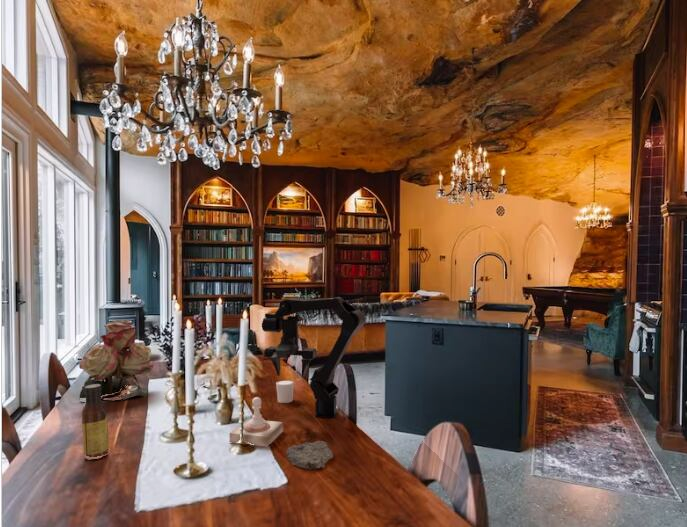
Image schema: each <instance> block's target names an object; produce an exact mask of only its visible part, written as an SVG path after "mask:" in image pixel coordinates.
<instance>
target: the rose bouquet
mask: <svg viewBox="0 0 687 527" xmlns="http://www.w3.org/2000/svg"><path fill="white" fill-rule="evenodd" d="M132 322H133V321H132V320H129V319H126V320H121V319H120V320H118V319H117V320H112V321H111V322H110V323H106V324H104V325H103V327H105V329H107V332H108V333H105V334H103V335H100V338H101V339H102V342H103V344H101V343H98V344H96V345H94V346H93V347H92V348H91V349H90V350H89V351H88V352H87V353H86V354H85V355H84V356H83V357H82V360H80V362H79V369H81V370H83V371H84V372H86V374H88V375H89V376H88V378H87V379H86V380H85V381H84V384H83V386H82V387H81V390H80V394H79V399H80V398H86V393H85V387H86V386H88V385H93V384H100V385H101V396H102V395H105V394H112V393H115V392H119V391H120V389H121V388H123V387H126V386H127V385H128V386H135V387H136V386H137V387H136V388H135V387H134V388H131V389H128V390H127V391H129V392H133V393H130V394H127V393H125V395H121V396H116V397H119V398H120V397H121V398H122V399H123V400H127V399H130V398H133V397H137V396H141V397H143V396H145V397H146V396H148V395H149V393H148V392H147V391H146V389H147V388H148V386H145V387H142V386H140V385H141V384H140V383H139V380H138V378H137V377H136V376H137V375H138V376H139V375H142V376H144V375H147V374H148V373H150V372H152V370H154V362H153V361H150V359H151V358H152V357H151V355H152V350H151V348H150V347H149V346H146V345H145V344H144V343H141V342H135V341H136V339H137V337H138V334H137V333H138V332H136V326H135V325H132ZM134 380H135V381H134ZM125 385H126V386H125ZM123 389H124V388H123ZM123 400H122V401H123Z"/></svg>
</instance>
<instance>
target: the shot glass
mask: <svg viewBox="0 0 687 527" xmlns="http://www.w3.org/2000/svg"><path fill="white" fill-rule="evenodd" d="M294 382H295V381H293V380H279V381H276V382H275V386H276V396H277V402H278V403H280V404H288V403H292V402H293V398H294V386H295V385H294V384H295V383H294Z"/></svg>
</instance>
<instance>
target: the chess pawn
mask: <svg viewBox="0 0 687 527" xmlns="http://www.w3.org/2000/svg"><path fill="white" fill-rule="evenodd" d="M251 404H252V406H251V408H252V409H253V415H252V416H251V417H252V418H250V419H251V420H250V421H249V428H250V429H254V430H257V429H262V428H264V427H265V421H266V420H265V419H264V417H262V416H263V415H262V414H261V411H260V409H262V399H261V398H260V397H258V396H255V397H253V398H252V401H251Z"/></svg>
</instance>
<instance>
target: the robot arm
mask: <svg viewBox="0 0 687 527" xmlns="http://www.w3.org/2000/svg"><path fill="white" fill-rule="evenodd" d="M278 306H279V307H278V308H277V310H276V311H275V313H271V312H267V313H265V314H264V318H263V319H262V322H261V329H262V331H263V332H266V333H278V334H279V333H281V332H282V333H281V335H282V336H281V337H280V343H278V344H277V346H269V347H266V348H265V349H264V350H263V358H267V360H269V361H271V363H272V365H273V367H274V370H275V371H276V375H277V376H278V377H280V376H281V358H283V359H290V358H291V356H298V357H299V356H301V357H302V358H301V360H300V362H301V378H304V377H305V374H306V372H307V369H308V366H309V364H310V362H311V361H312V360H313V359H315V358H316V357H318V350H317V349H316V348H314V347H313V348H312V347H306V348H304V349H302V350H301V349H300V346H299V338H300V334H299V322H303V321H304V317H302V316H301V315H300V314H299V313H302V312H306V311H319V310H333V311H334V313H335V314H336V316H337V317H338V318H339V319H340V320H341V326H340V334H339V336H338V337H337V339H336V341H335V343H334V345H333V346H332V349H331V350H330V352H329V355H328V357H327V358H326V360H325V362H324V364H323V366H321V367H318V368H316V369H314V371H313V374H312V376H311V378H309V381H310V382H309V388H310V390H311V391H312V393H313V397H314V399H315V404H314V405H315V406H314V409H315V417H316V418H317V417H318V418H327V419H328V418H330V419H331V418H335V416H336V415H337V414H338V412H339V410H338V409H337V395H338V393H339V390H340V389H339V387H338V386H337V385H336V384H335V382H334V380H335V376H336V375H335V372H336V370H337V367H338V366H339V364H340V363H341V361H342V358H343V357H344V355H345V352H346V350H347V349H348V347H349V345H350V343H351V341H352V340H353V338H354V336H355V335H357V333H358V332H359V331H360V330H361V328H362V327H364V326H365V323H366V322H367V318H366V314H365V313H364V312H363V311H361V310H360V309H359V310H358V309H357V308H356V307H355V306H353V305H352V304H350V303H348V302H347V301H346V300H345V299H344V298H342V297H341V296H337V297H329V298H313V299H304V298H299V297H291V298H285V299H282V300H281V302H279V305H278ZM294 314H295V315H294Z"/></svg>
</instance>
